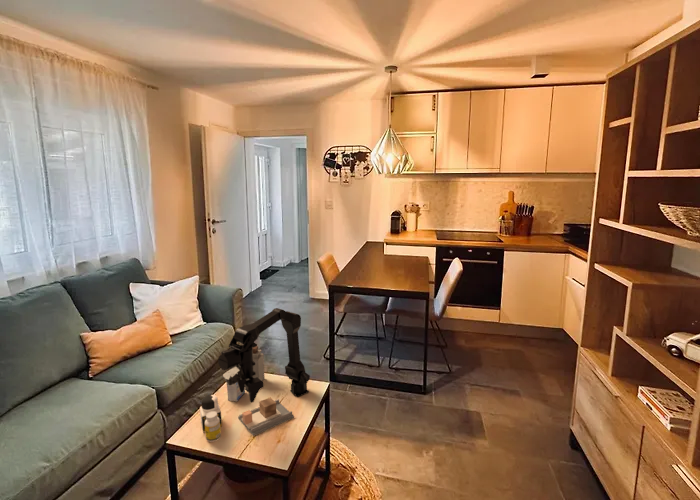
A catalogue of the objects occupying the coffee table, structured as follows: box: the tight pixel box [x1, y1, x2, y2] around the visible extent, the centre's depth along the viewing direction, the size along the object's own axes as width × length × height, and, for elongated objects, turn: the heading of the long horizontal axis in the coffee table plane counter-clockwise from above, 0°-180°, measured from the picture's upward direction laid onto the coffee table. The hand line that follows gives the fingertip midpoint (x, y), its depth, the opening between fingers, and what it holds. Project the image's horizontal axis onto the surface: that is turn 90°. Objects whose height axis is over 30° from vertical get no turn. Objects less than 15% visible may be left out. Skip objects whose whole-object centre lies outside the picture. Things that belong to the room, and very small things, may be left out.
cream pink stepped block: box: [241, 409, 281, 429], centre depth 153 cm, size 14×7×5 cm, turn 129°
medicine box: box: [226, 382, 246, 402], centre depth 170 cm, size 8×4×9 cm, turn 168°
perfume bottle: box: [246, 345, 266, 382], centre depth 181 cm, size 7×7×18 cm
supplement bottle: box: [204, 411, 222, 443], centre depth 143 cm, size 5×5×10 cm
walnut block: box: [258, 397, 276, 418], centre depth 155 cm, size 5×5×5 cm
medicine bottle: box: [199, 394, 223, 433], centre depth 150 cm, size 7×7×12 cm
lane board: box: [237, 399, 295, 437], centre depth 155 cm, size 18×14×2 cm
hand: (246, 397), depth 148 cm, fingers open, 9 cm apart
